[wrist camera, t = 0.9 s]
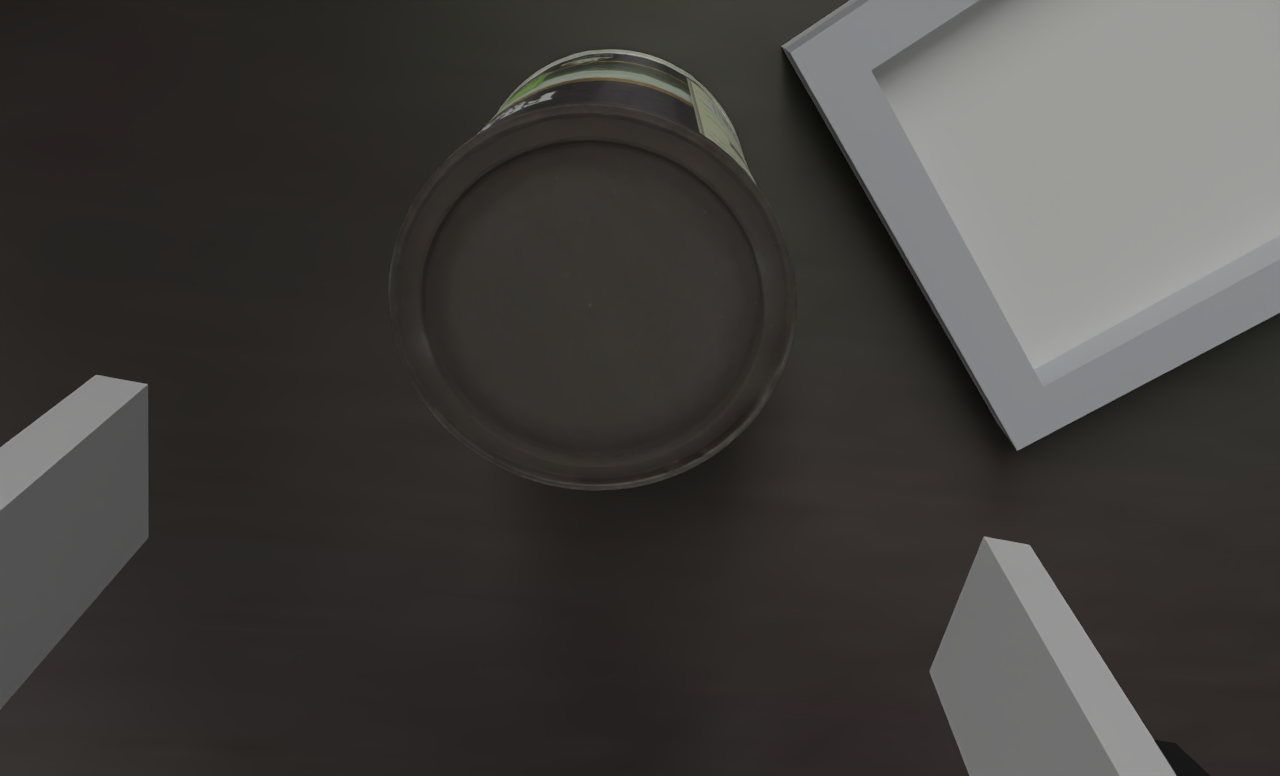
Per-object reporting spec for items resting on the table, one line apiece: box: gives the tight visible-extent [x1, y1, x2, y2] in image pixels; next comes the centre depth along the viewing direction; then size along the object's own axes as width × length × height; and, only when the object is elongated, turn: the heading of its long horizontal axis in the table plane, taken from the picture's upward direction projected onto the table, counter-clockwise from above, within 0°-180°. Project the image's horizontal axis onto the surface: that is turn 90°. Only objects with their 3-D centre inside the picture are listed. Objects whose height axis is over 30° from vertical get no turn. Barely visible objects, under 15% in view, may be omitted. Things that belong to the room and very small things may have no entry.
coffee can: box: [388, 49, 797, 491], centre depth 31 cm, size 10×10×14 cm
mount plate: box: [781, 0, 1280, 451], centre depth 35 cm, size 18×18×2 cm
